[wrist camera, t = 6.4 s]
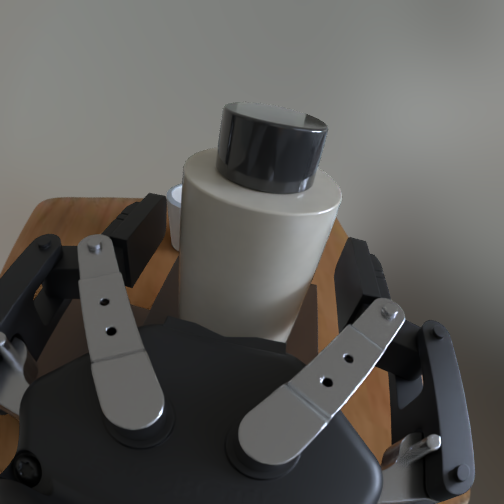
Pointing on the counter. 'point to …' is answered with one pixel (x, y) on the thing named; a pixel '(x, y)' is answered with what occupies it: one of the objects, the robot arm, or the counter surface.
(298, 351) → the stepped wooden block
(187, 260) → the white bottle
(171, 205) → the white short tapered cylinder
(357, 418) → the counter surface
